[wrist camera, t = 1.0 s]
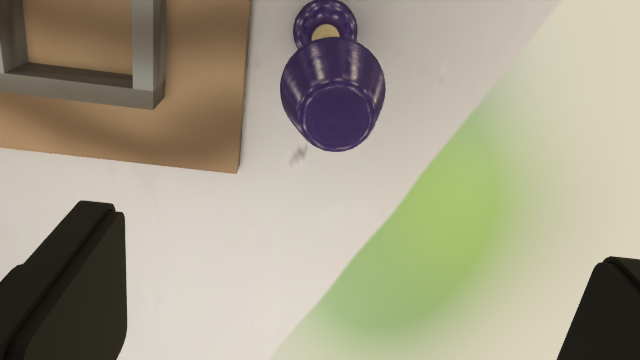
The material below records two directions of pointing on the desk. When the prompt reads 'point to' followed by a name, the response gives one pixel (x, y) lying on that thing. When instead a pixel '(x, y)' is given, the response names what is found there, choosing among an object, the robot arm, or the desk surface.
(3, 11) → the socket board
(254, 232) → the desk surface
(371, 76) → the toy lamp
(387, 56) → the desk surface
